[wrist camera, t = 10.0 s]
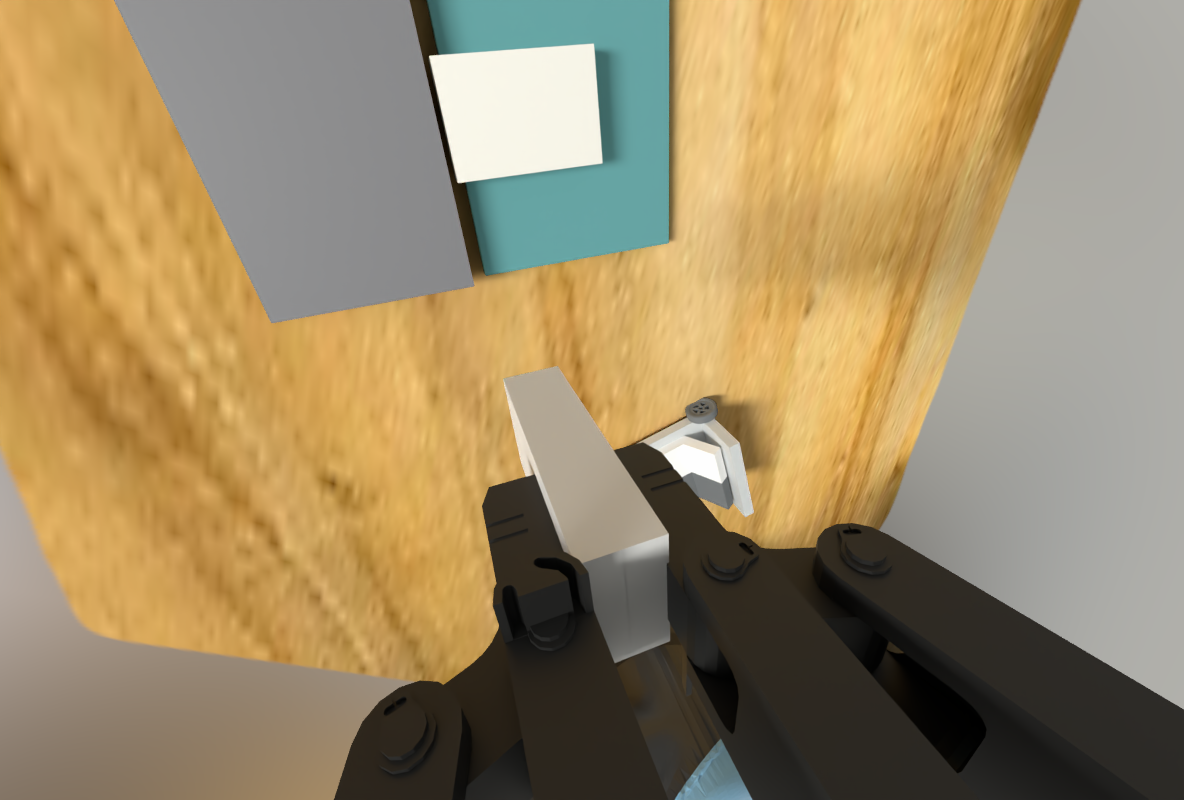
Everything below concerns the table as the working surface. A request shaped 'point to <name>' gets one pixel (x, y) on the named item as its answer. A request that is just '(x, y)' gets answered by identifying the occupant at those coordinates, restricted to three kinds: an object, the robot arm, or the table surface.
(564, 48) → the tile
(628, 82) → the mat
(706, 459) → the toy car
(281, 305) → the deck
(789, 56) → the table surface
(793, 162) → the table surface
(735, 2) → the table surface
